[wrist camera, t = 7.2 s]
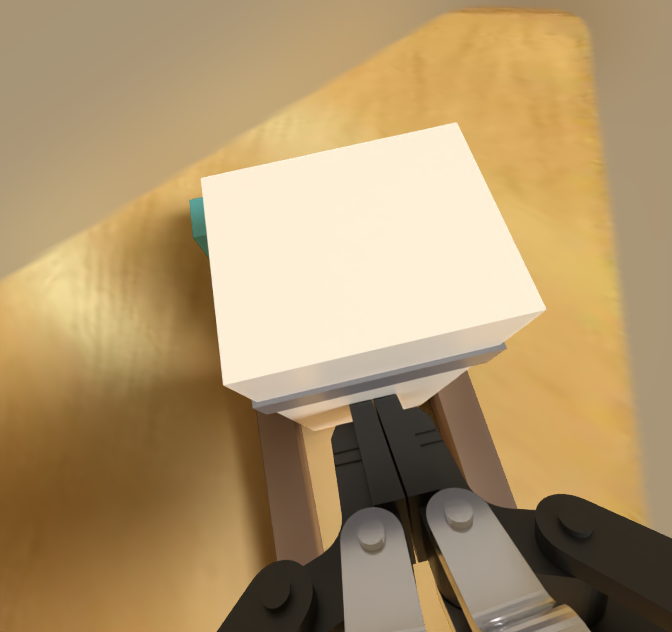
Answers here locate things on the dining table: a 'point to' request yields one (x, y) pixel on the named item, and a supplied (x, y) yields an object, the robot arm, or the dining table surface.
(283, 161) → the sleeve
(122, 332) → the dining table surface
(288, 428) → the guide rails
